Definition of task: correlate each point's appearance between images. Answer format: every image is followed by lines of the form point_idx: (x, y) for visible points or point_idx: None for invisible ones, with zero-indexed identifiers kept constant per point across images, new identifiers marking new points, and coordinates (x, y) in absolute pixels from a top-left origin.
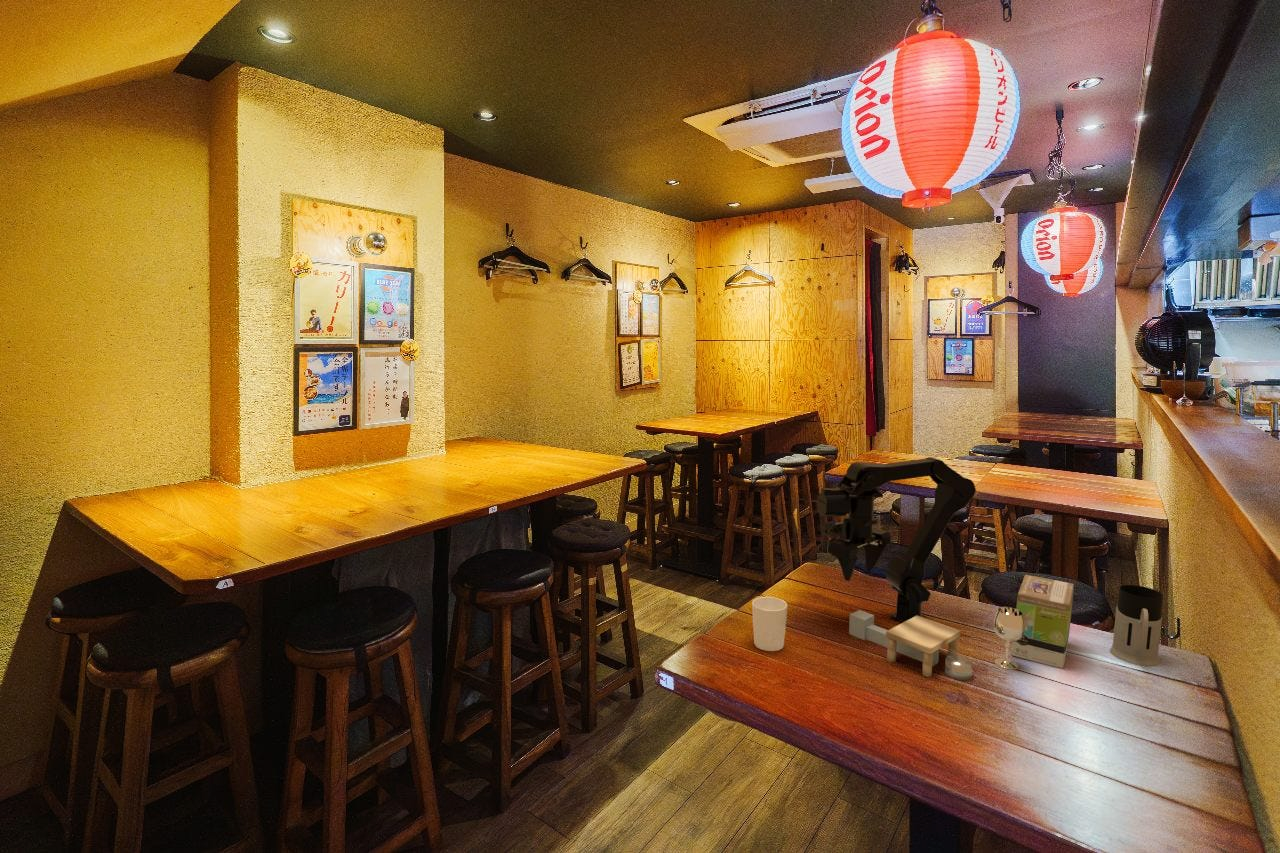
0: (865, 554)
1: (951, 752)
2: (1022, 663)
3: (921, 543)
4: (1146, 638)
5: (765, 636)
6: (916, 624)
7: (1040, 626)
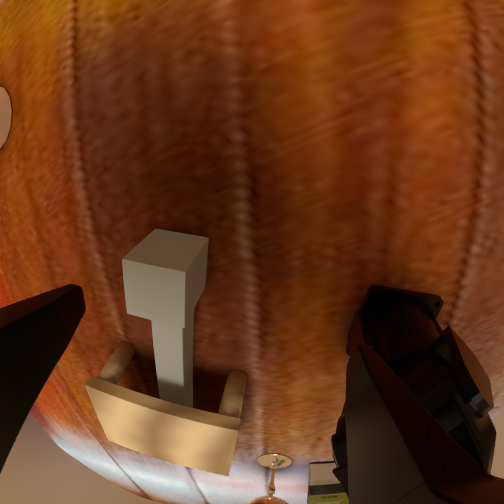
0: (406, 450)
1: (43, 405)
2: (294, 468)
3: None
4: None
5: None
6: (180, 431)
7: None
